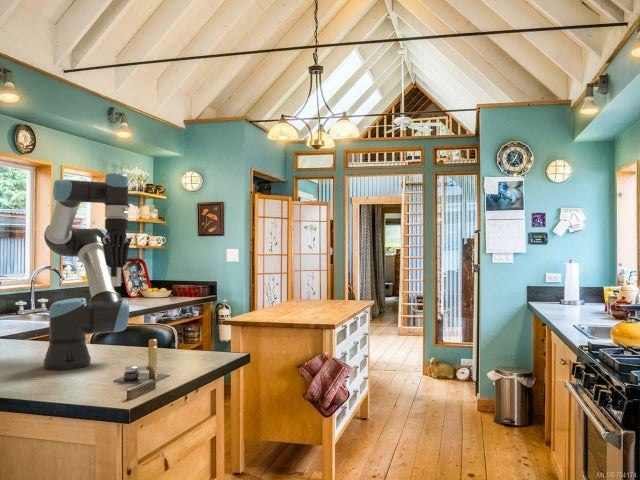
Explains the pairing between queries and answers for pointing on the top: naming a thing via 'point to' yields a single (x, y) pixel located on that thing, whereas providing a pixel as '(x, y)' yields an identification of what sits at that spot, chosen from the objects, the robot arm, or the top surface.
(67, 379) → the top surface
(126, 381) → the crank base
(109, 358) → the top surface
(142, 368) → the crank
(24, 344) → the top surface
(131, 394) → the batten
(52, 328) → the robot arm
